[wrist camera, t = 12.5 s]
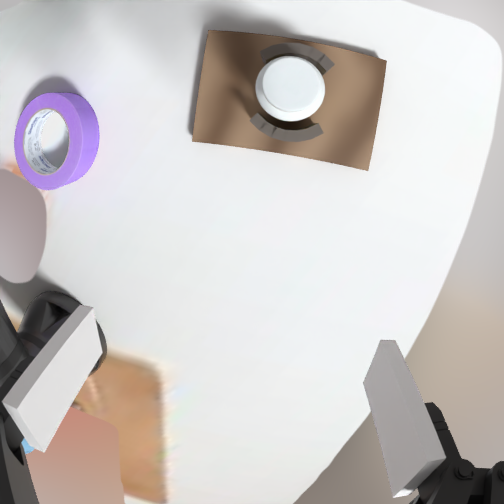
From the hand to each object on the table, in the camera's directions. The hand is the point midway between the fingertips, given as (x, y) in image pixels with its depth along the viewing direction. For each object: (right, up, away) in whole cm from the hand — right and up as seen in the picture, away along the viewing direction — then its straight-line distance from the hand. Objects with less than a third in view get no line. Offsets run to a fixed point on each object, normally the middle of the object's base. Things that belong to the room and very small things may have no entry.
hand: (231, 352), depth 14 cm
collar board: (+5, +20, +16) cm, 26 cm away
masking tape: (-23, +19, +19) cm, 35 cm away
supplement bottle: (+4, +20, +15) cm, 25 cm away
